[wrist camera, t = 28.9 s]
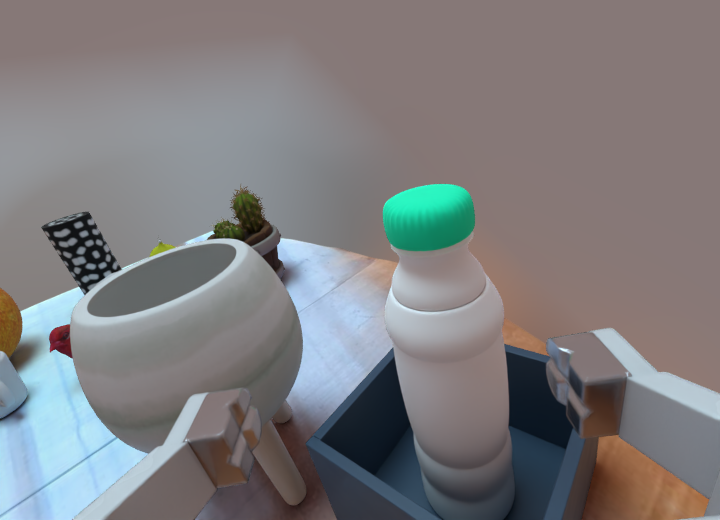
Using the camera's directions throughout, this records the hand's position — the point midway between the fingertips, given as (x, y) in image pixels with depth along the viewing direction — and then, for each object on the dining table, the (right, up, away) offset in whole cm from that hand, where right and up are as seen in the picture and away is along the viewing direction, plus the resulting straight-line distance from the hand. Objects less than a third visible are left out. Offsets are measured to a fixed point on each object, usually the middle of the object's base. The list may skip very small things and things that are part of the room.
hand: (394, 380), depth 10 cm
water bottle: (+8, -15, +20) cm, 26 cm away
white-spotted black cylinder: (-56, -6, +72) cm, 92 cm away
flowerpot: (-21, -2, +64) cm, 68 cm away
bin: (+8, -16, +20) cm, 27 cm away
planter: (-11, -18, +27) cm, 34 cm away
